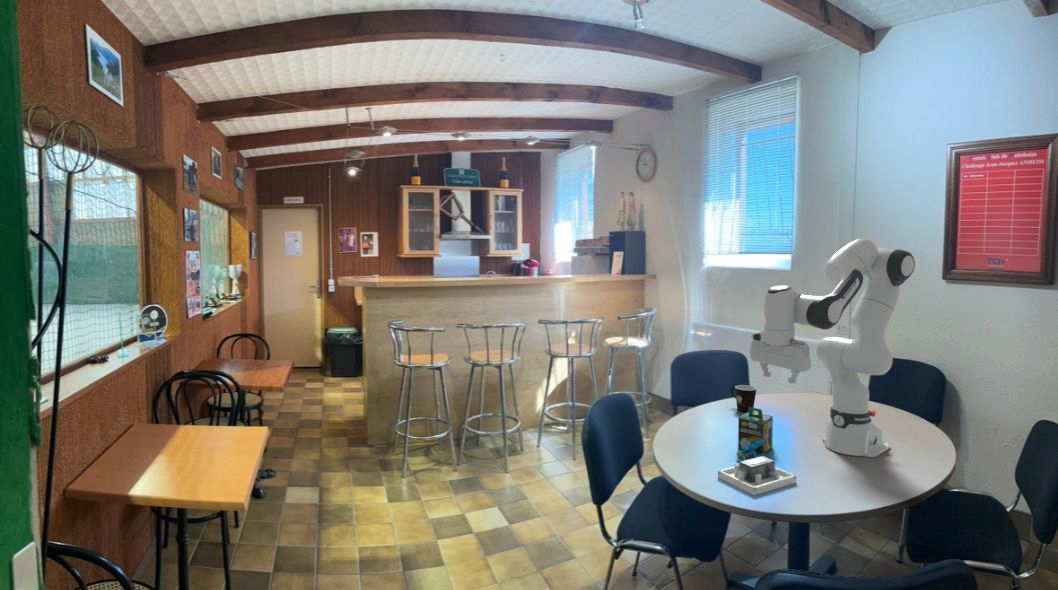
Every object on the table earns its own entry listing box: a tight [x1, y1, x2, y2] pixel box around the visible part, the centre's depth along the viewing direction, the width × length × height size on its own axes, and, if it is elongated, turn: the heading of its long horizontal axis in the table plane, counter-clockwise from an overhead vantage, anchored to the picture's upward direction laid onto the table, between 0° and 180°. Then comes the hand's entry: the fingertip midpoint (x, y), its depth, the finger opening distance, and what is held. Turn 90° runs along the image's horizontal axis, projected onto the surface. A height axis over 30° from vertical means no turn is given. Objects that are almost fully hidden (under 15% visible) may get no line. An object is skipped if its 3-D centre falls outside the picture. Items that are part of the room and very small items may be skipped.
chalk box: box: [737, 407, 774, 455], centre depth 200 cm, size 9×9×15 cm
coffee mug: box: [730, 384, 757, 414], centre depth 245 cm, size 12×9×10 cm
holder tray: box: [717, 463, 797, 496], centre depth 174 cm, size 18×14×4 cm
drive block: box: [739, 455, 776, 483], centre depth 174 cm, size 10×4×5 cm, turn 117°
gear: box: [736, 440, 764, 461], centre depth 189 cm, size 11×6×10 cm
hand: (779, 379), depth 181 cm, fingers open, 8 cm apart
